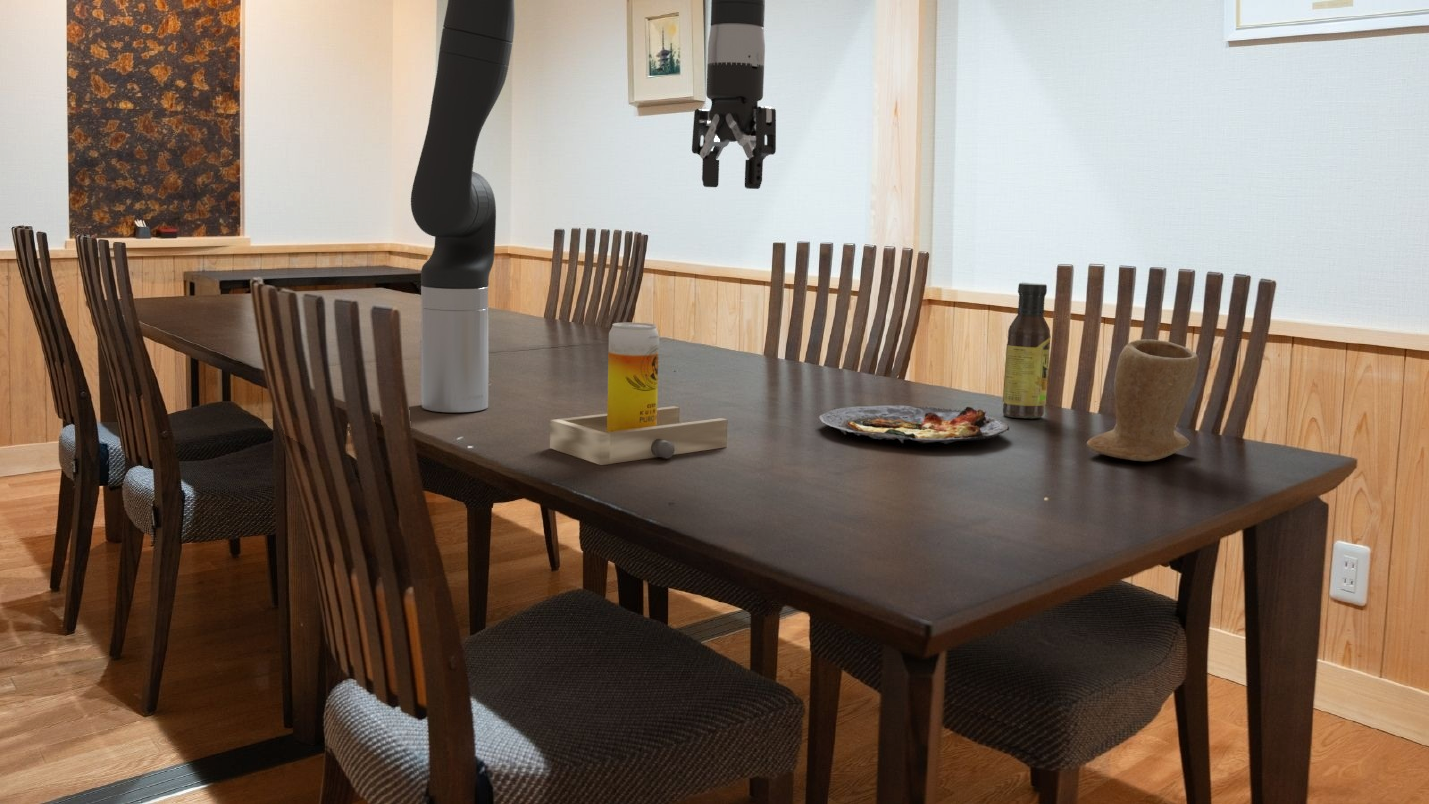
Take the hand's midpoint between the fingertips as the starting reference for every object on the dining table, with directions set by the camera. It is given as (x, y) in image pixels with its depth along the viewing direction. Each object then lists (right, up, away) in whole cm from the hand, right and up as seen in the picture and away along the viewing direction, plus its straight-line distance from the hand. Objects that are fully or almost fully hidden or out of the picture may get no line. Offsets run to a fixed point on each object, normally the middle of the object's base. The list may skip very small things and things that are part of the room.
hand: (731, 187), depth 162 cm
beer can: (-13, -34, -13) cm, 39 cm away
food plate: (+25, -33, +3) cm, 42 cm away
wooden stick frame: (-11, -34, -12) cm, 38 cm away
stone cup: (+53, -36, -7) cm, 64 cm away
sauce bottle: (+44, -31, +19) cm, 57 cm away
